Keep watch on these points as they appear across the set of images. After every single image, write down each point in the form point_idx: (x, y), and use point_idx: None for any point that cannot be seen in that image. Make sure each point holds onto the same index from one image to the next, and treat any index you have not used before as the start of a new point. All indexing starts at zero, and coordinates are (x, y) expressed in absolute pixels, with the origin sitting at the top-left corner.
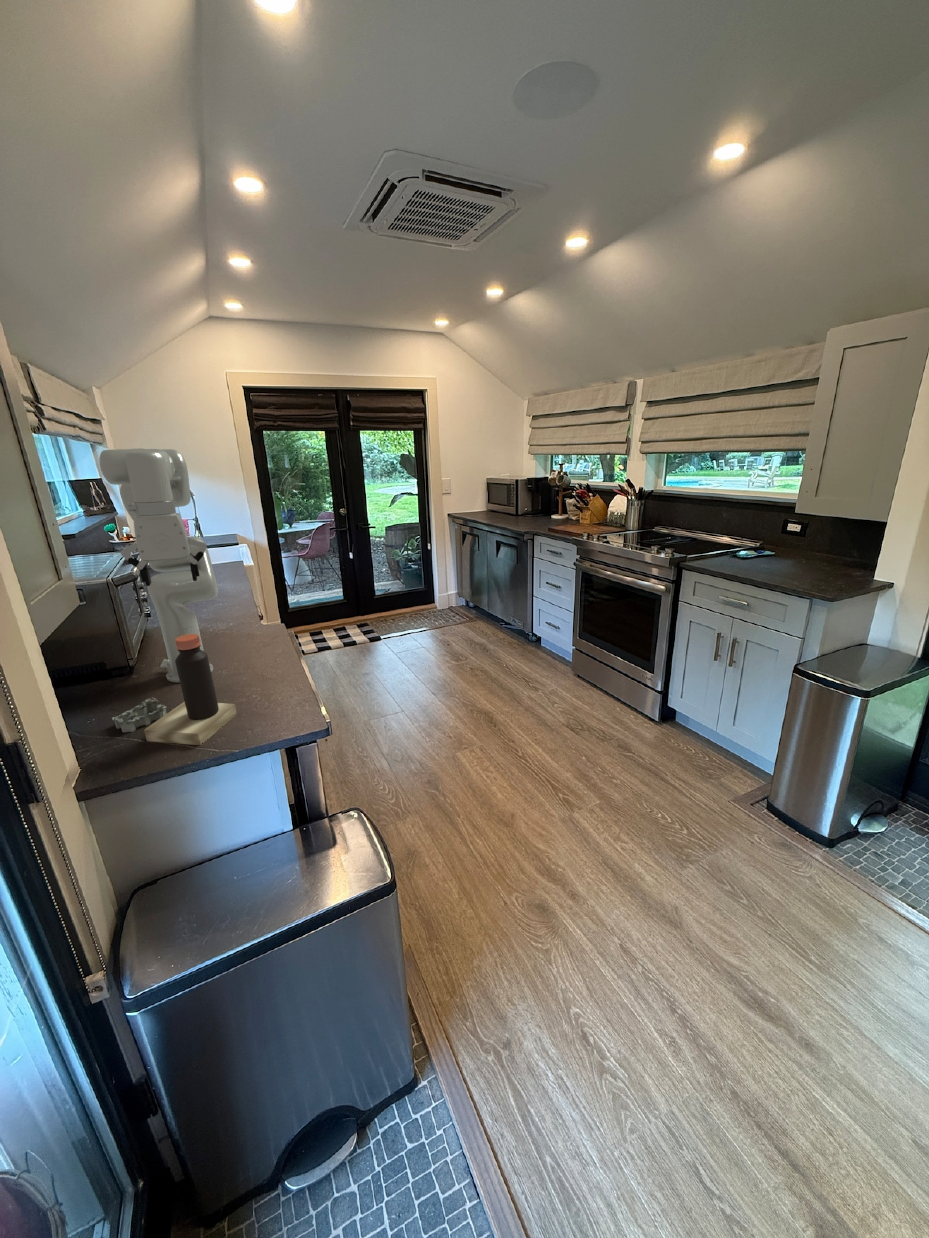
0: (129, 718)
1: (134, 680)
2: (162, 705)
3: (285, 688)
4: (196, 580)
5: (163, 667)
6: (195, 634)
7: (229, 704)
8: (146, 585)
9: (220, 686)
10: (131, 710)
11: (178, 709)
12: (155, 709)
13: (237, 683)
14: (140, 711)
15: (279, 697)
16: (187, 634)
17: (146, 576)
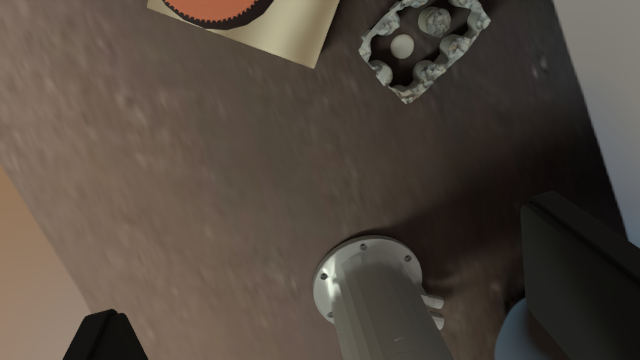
0: (444, 9)
1: (492, 266)
2: (375, 68)
3: (55, 147)
4: (90, 317)
5: (434, 295)
6: (175, 1)
7: (163, 7)
8: (551, 191)
9: (263, 196)
10: (451, 60)
11: (316, 13)
12: (397, 85)
13: (220, 206)
14: (429, 62)
15: (52, 90)
16: (226, 17)
17: (597, 244)
